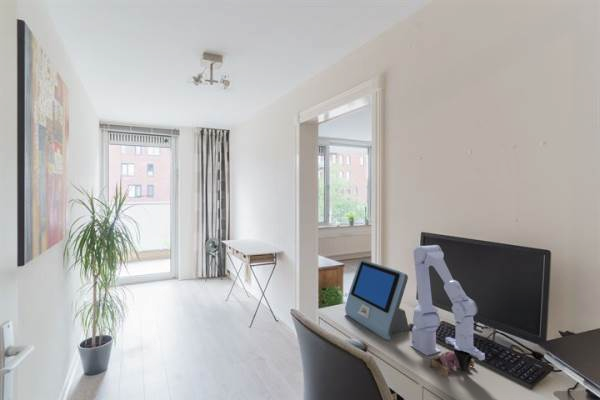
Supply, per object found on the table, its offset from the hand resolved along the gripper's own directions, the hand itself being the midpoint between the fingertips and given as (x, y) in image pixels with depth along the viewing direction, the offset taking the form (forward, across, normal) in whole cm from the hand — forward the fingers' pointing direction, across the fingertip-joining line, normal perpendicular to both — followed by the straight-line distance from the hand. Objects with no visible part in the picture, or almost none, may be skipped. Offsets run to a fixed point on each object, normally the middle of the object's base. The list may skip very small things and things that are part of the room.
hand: (464, 370), depth 115 cm
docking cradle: (+1, -5, 0) cm, 5 cm away
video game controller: (+2, -4, 0) cm, 4 cm away
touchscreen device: (+2, -50, 0) cm, 50 cm away
